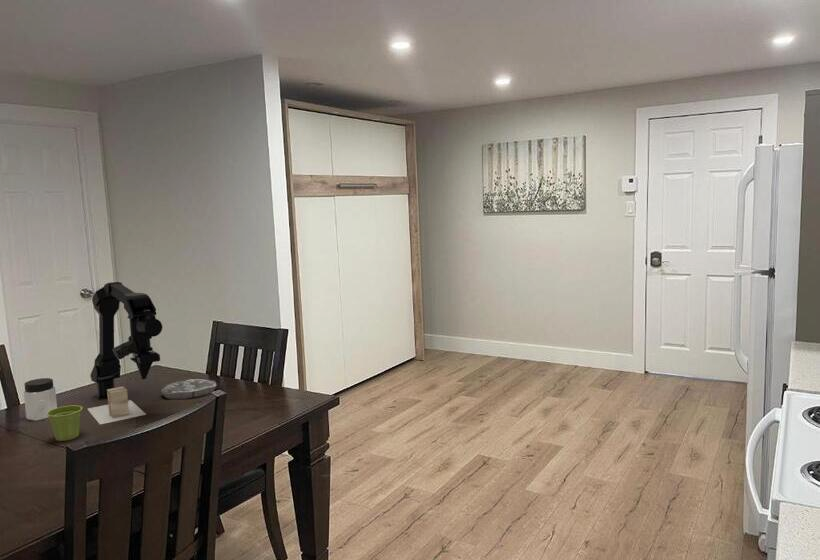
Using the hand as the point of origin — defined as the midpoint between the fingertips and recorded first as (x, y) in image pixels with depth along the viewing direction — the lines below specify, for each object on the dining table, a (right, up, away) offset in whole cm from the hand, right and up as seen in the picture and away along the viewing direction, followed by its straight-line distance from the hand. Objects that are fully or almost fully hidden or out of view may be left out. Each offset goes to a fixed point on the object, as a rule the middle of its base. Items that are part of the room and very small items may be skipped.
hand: (143, 379), depth 201 cm
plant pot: (-15, -15, -18) cm, 28 cm away
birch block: (-8, -12, +1) cm, 15 cm away
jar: (-35, -13, +2) cm, 37 cm away
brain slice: (+6, -10, +24) cm, 27 cm away
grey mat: (-11, -12, +4) cm, 17 cm away
